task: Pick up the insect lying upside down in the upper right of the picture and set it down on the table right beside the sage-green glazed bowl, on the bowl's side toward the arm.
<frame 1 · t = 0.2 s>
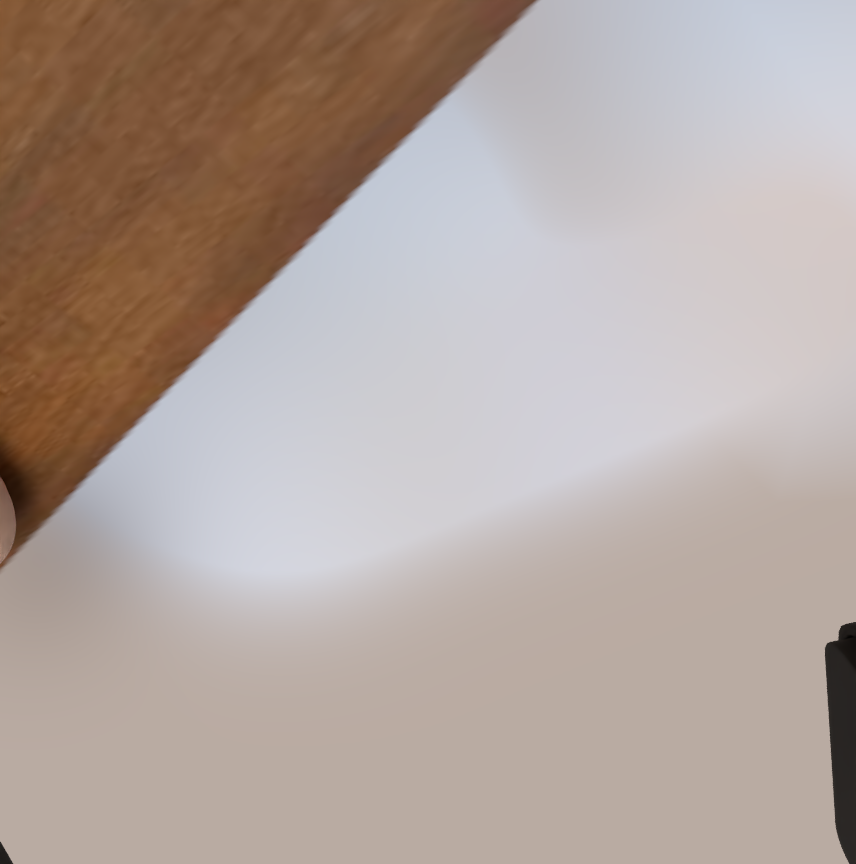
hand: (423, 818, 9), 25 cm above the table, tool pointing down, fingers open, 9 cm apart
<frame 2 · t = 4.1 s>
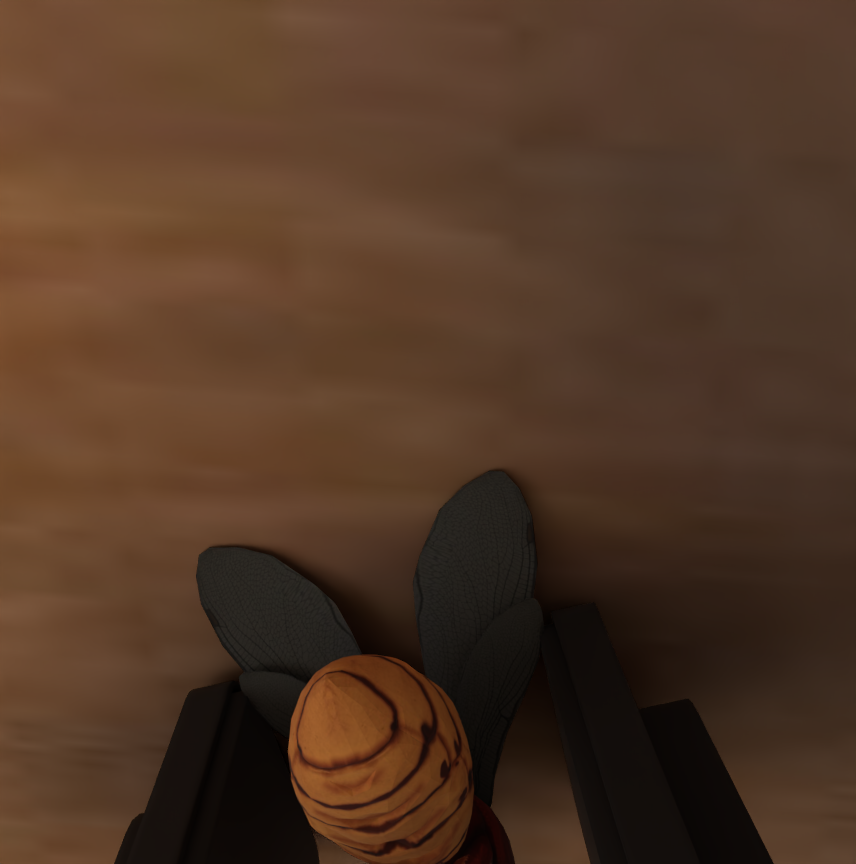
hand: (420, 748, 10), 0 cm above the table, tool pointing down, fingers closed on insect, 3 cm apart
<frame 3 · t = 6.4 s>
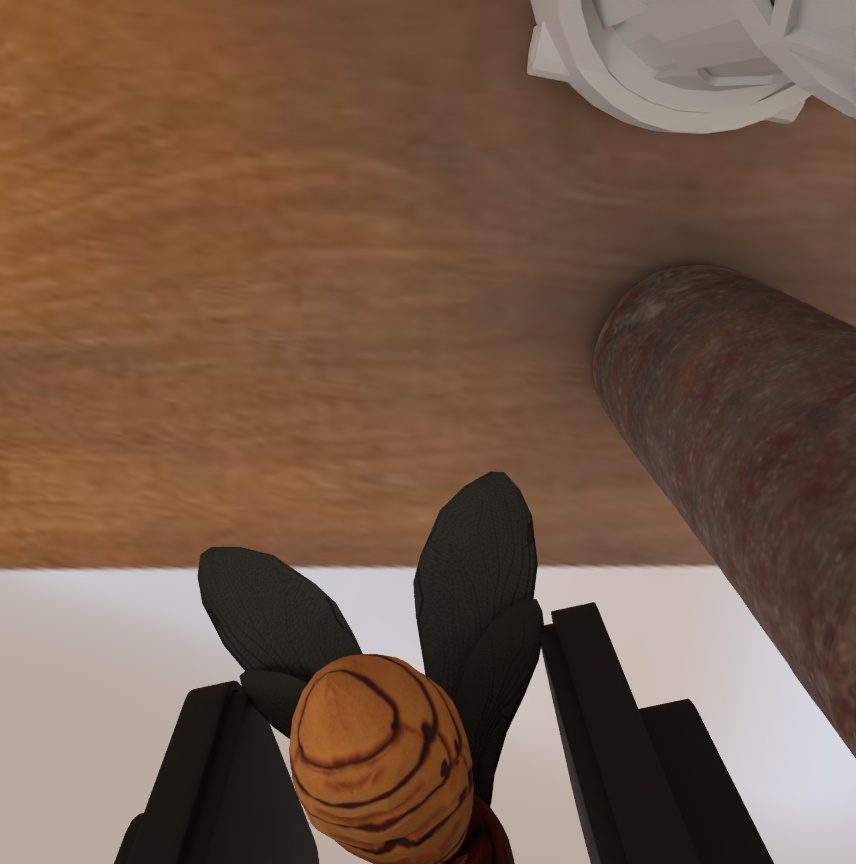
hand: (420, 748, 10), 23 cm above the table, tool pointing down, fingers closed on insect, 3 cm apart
candle: (672, 350, 32), on the table
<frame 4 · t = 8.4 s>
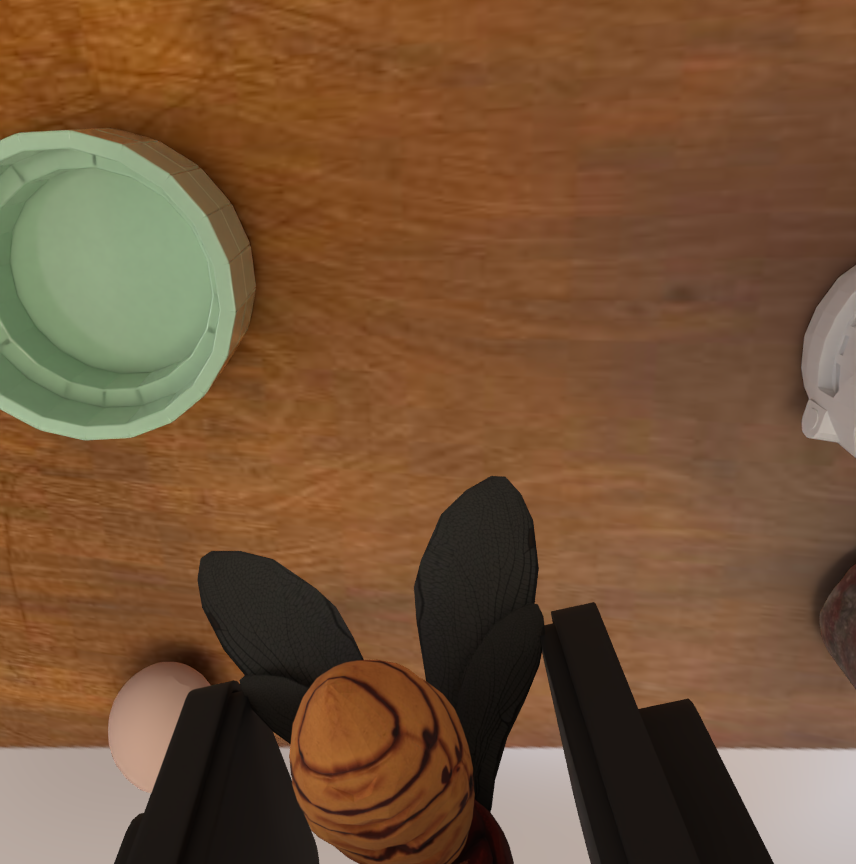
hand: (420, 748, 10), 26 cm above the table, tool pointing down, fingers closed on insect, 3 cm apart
egg 2: (166, 667, 38), point 3 cm above the table
bowl: (122, 271, 34), on the table
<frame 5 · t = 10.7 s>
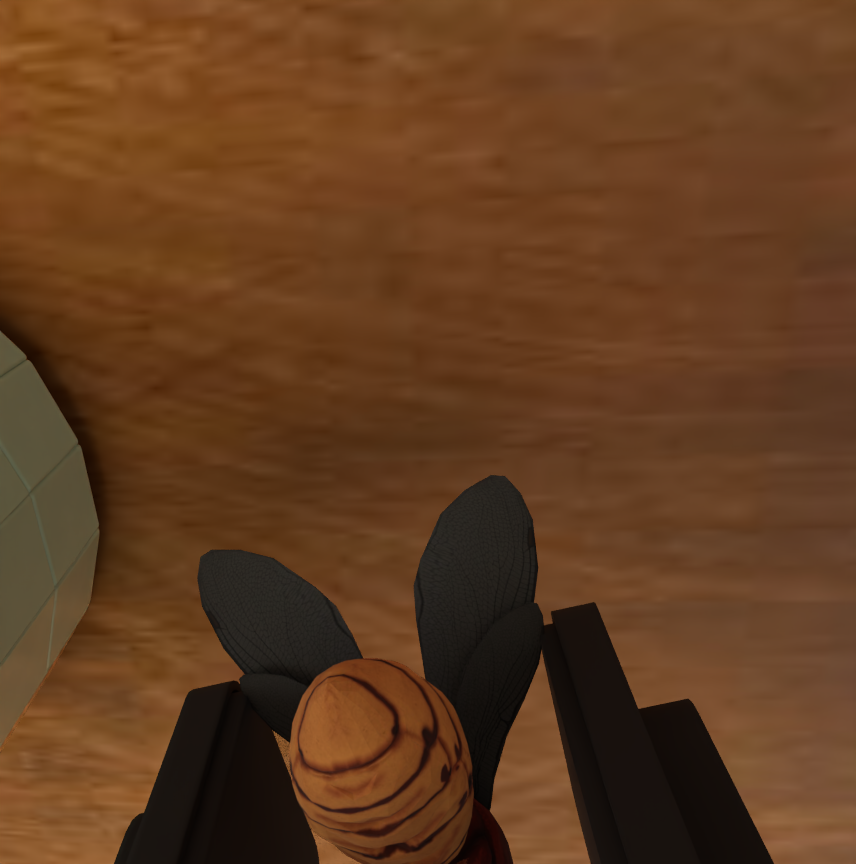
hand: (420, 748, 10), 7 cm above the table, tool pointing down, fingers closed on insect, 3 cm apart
when the fingers open (0 cm above the table, at t = 12.8 s): insect stays where it is, point 5 cm above the table.
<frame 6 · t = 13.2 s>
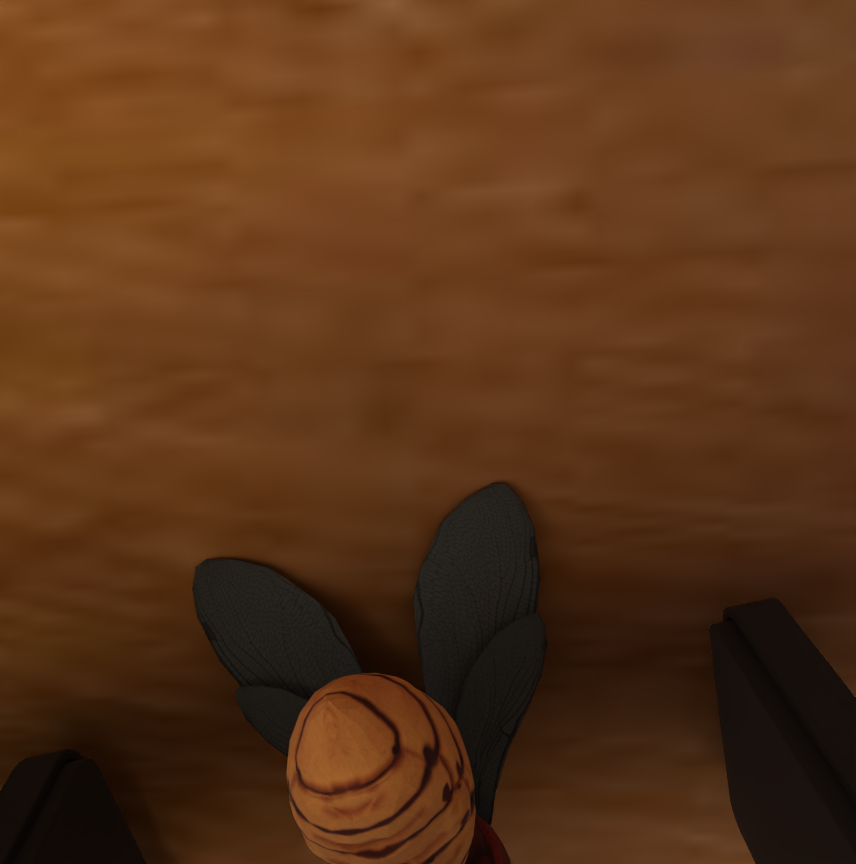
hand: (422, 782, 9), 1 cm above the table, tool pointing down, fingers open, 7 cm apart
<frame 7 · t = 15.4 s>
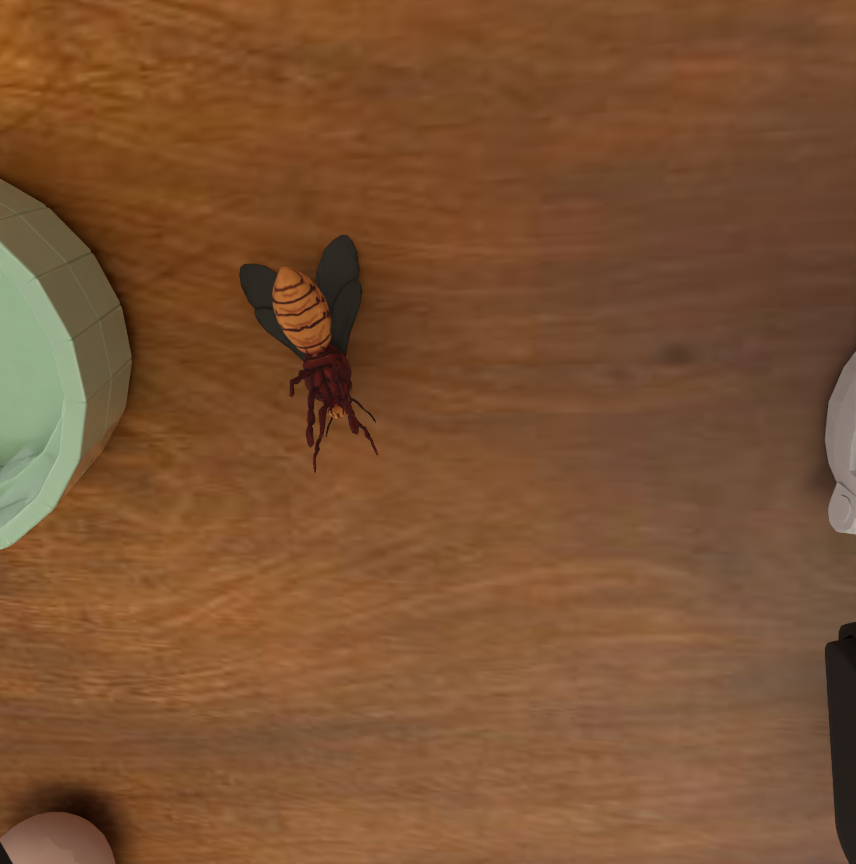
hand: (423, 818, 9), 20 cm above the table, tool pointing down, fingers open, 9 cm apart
egg 2: (42, 826, 30), point 3 cm above the table
insect: (311, 390, 22), point 5 cm above the table
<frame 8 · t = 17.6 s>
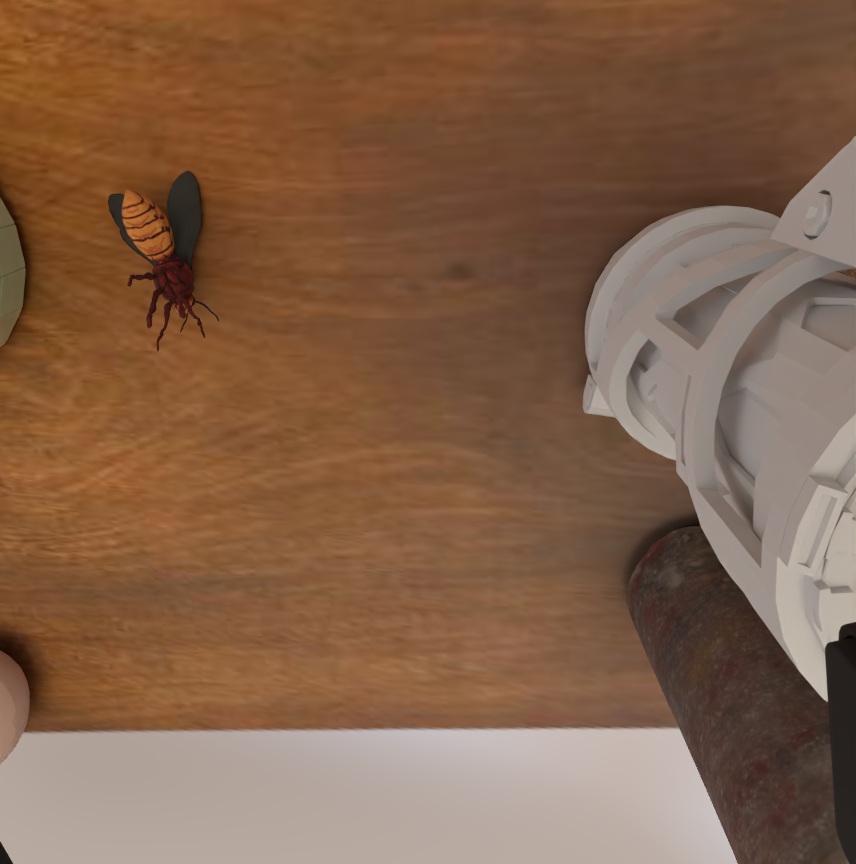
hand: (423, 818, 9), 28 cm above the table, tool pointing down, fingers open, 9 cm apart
lantern: (697, 291, 36), on the table
candle: (688, 574, 41), on the table
insect: (142, 280, 30), point 5 cm above the table
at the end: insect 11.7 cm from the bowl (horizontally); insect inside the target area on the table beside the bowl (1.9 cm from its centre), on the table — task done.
